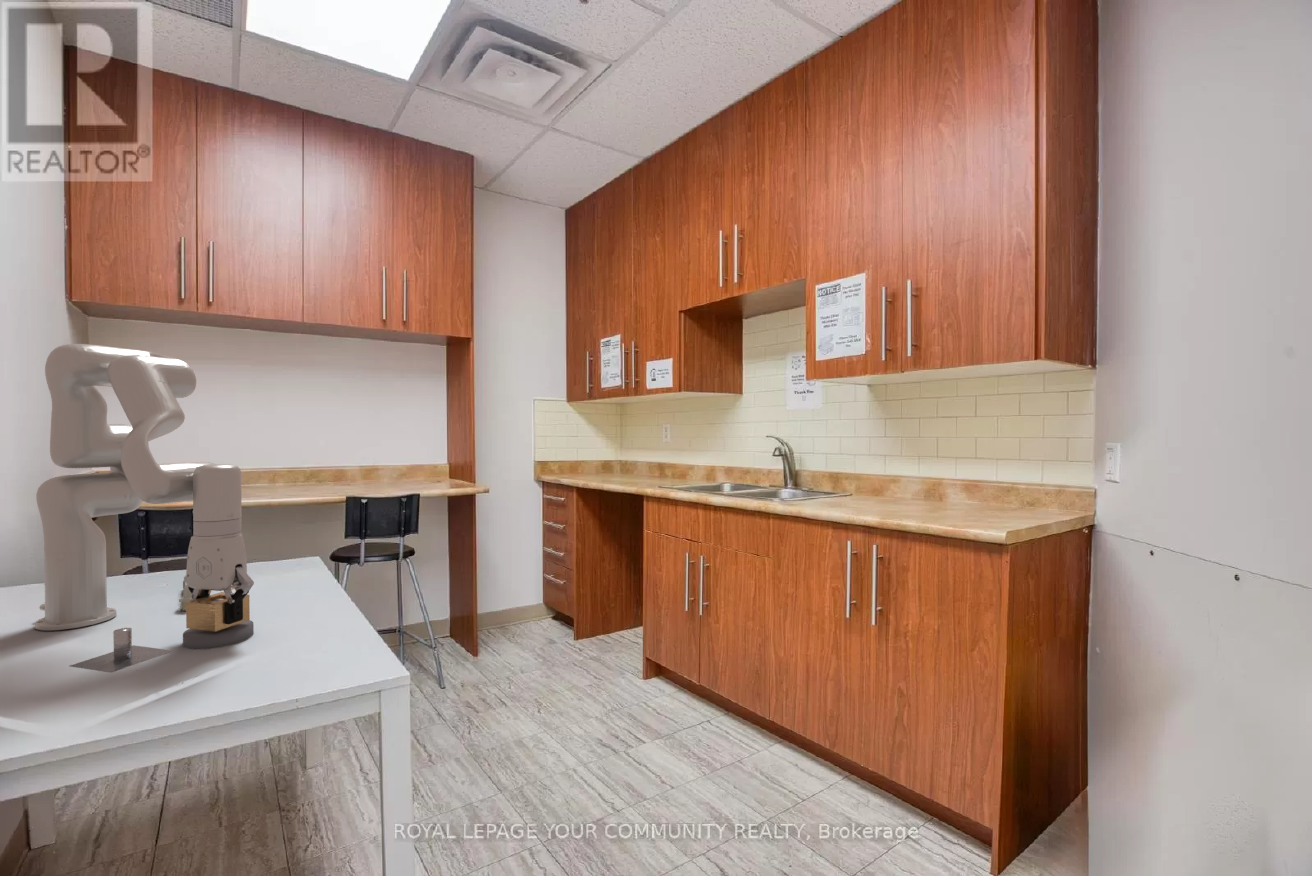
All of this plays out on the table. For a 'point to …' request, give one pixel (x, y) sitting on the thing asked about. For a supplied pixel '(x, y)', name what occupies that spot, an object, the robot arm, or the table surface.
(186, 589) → the toothbrush head
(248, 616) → the collar
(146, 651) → the stand
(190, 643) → the hub
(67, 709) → the table surface
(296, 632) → the table surface
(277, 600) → the table surface
